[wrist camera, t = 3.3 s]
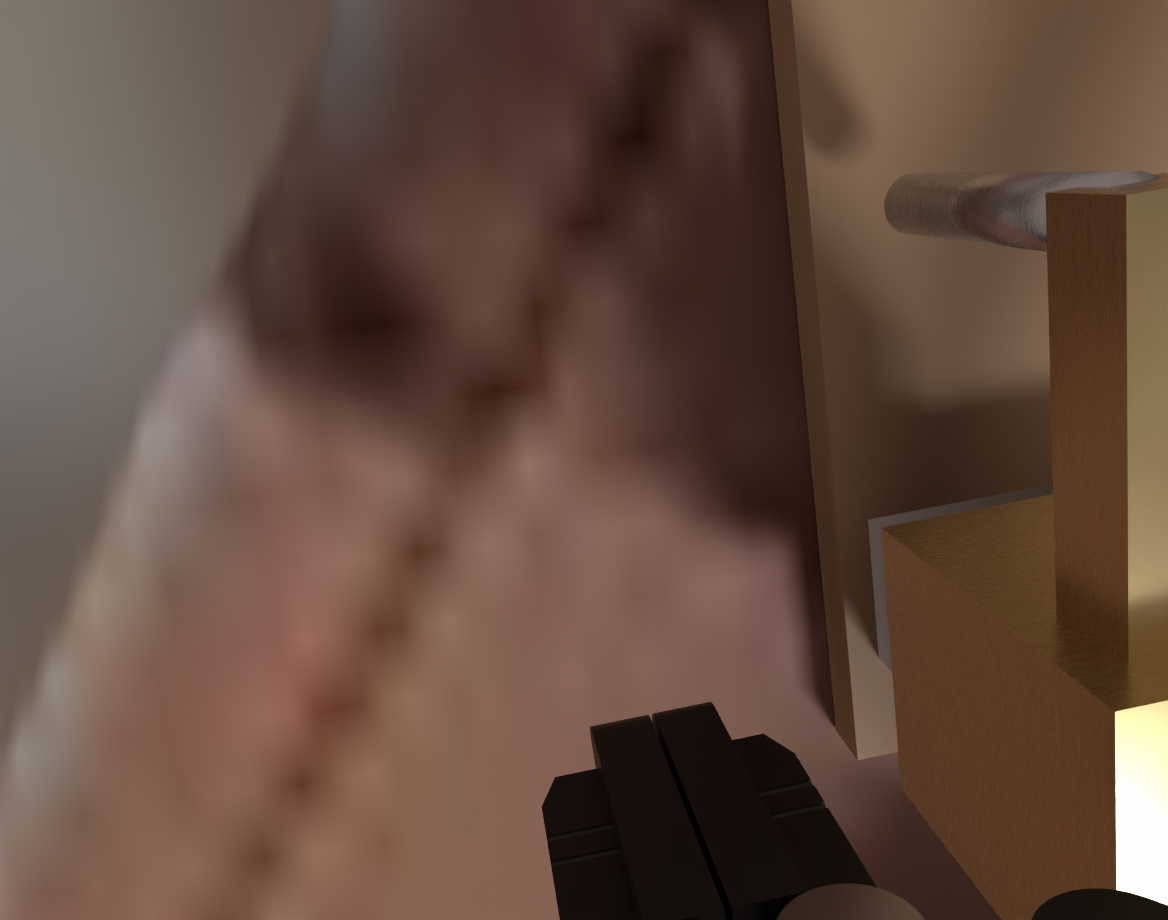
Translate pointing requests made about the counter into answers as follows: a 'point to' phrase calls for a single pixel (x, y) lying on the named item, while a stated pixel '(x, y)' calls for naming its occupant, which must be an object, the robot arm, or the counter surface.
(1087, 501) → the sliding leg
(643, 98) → the counter surface
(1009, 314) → the board
